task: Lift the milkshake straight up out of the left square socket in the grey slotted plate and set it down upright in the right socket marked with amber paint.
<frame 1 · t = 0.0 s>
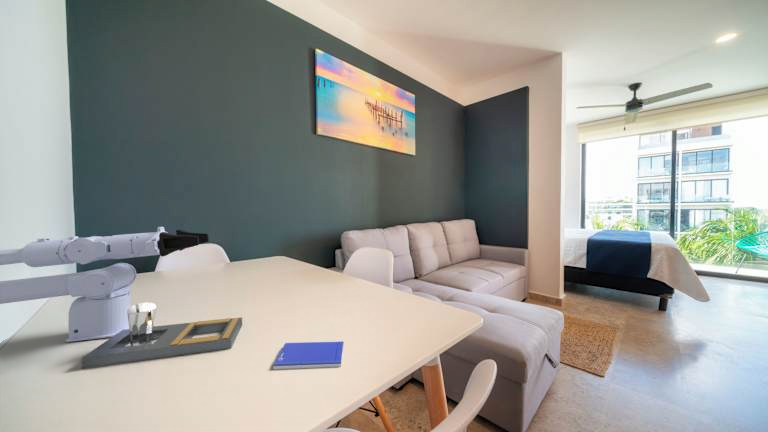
hand: (203, 239, 68), 22 cm above the table, tool horizontal, fingers open, 7 cm apart
hard drive: (311, 359, 53), on the table
grey slotted plate: (175, 343, 57), on the table
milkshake: (141, 348, 55), on the table
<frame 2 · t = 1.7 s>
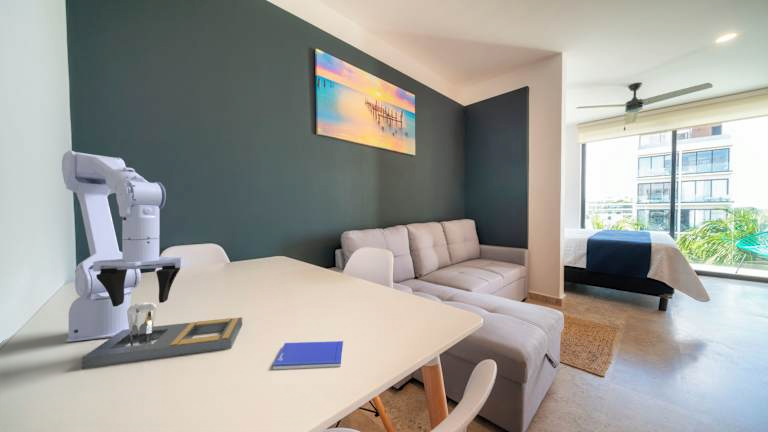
hand: (141, 303, 55), 9 cm above the table, tool pointing down, fingers open, 7 cm apart
nothing on the table moved.
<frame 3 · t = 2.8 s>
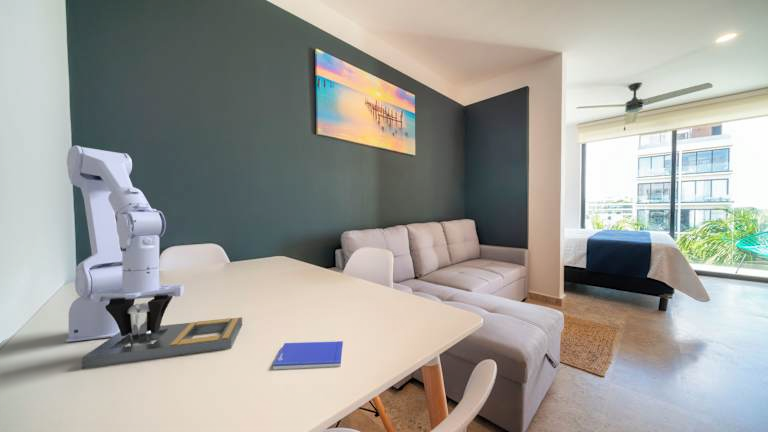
hand: (141, 332, 55), 3 cm above the table, tool pointing down, fingers closed on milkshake, 4 cm apart
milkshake: (141, 348, 55), on the table, touching gripper
everything else where it was.
when the fingers open (5 cm above the table, at t = 7.6 s): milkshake stays where it is, on the table.
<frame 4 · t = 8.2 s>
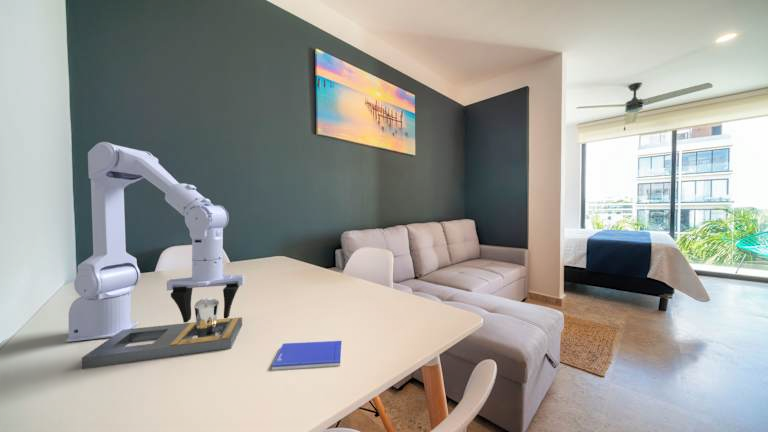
hand: (207, 318, 59), 5 cm above the table, tool pointing down, fingers open, 7 cm apart
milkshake: (206, 341, 59), on the table
everything else where it was.
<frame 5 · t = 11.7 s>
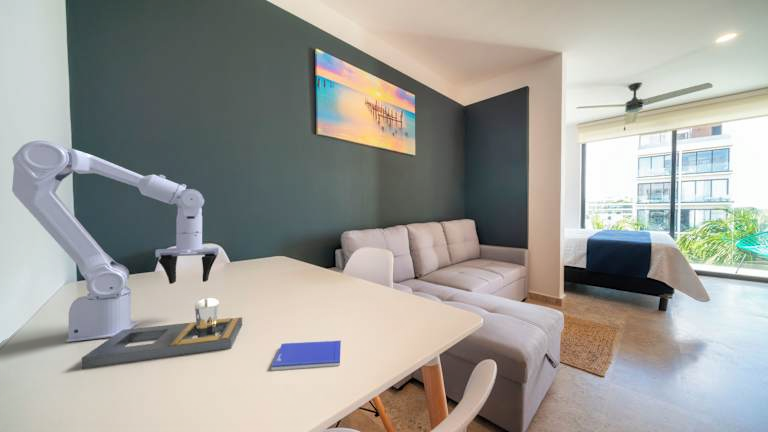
hand: (189, 281, 72), 9 cm above the table, tool pointing down, fingers open, 7 cm apart
nothing on the table moved.
at the end: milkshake 0.4 cm from the target spot on the grey slotted plate, point 0.0 cm above the grey slotted plate's base; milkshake tilted 0°; the gripper is holding nothing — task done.
